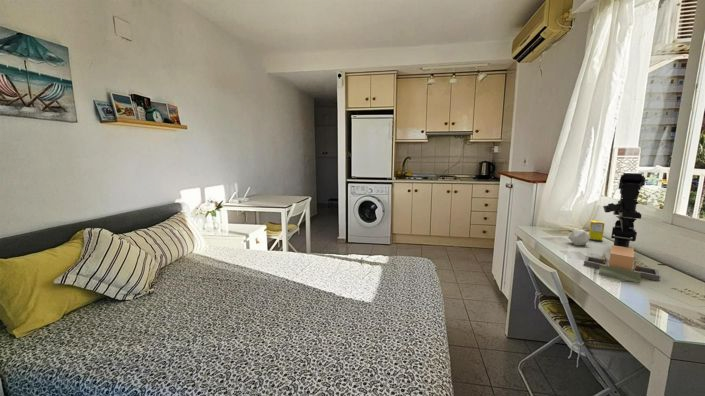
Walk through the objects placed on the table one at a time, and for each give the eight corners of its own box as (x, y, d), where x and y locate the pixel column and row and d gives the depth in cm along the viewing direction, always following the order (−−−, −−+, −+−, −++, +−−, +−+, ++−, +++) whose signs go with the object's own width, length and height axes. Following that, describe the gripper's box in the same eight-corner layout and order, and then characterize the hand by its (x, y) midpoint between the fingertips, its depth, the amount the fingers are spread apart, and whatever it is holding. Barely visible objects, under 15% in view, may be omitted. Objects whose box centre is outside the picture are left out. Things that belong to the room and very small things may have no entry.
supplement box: (601, 239, 166) (604, 221, 164) (602, 241, 161) (604, 223, 159) (588, 237, 169) (590, 219, 167) (588, 239, 164) (591, 221, 163)
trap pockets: (585, 259, 133) (586, 255, 133) (657, 274, 117) (658, 269, 117) (583, 265, 126) (584, 260, 126) (659, 281, 111) (659, 276, 110)
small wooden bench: (602, 257, 137) (603, 249, 136) (637, 263, 128) (639, 255, 128) (598, 273, 117) (600, 264, 117) (639, 282, 109) (641, 272, 108)
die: (589, 249, 150) (596, 233, 152) (574, 240, 151) (581, 224, 153) (577, 249, 158) (583, 234, 160) (562, 241, 159) (569, 226, 161)
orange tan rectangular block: (608, 264, 128) (611, 244, 127) (630, 268, 124) (633, 248, 122) (607, 273, 118) (610, 253, 116) (630, 279, 113) (634, 257, 111)
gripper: (602, 197, 145) (598, 227, 146) (610, 197, 129) (605, 231, 130) (632, 199, 139) (627, 230, 140) (644, 200, 123) (638, 235, 124)
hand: (623, 231), depth 134 cm, fingers closed
